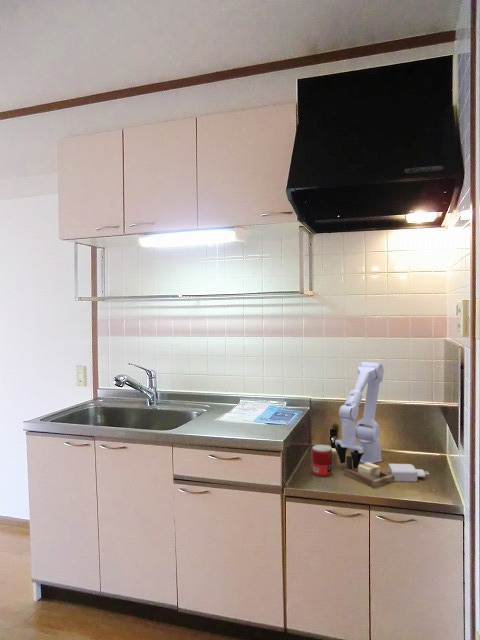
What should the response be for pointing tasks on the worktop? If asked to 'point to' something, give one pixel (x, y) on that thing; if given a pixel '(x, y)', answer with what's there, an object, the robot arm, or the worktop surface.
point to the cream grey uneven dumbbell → (365, 468)
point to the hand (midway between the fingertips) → (349, 465)
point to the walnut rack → (381, 481)
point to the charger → (405, 472)
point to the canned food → (322, 460)
